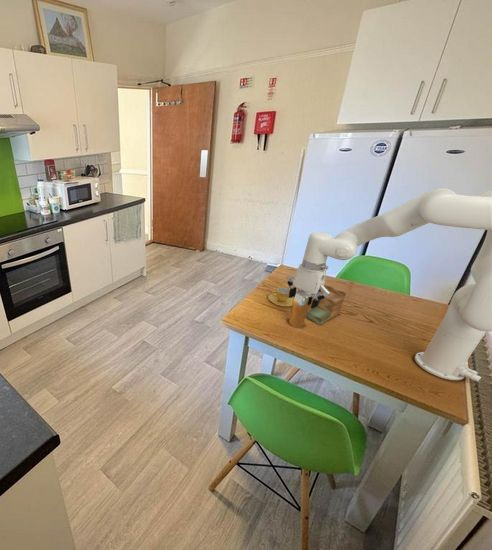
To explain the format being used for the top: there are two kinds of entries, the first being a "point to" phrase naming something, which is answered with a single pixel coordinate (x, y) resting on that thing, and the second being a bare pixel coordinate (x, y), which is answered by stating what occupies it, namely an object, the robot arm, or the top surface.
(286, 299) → the cup
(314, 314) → the shelf riser
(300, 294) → the beer glass
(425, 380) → the top surface
